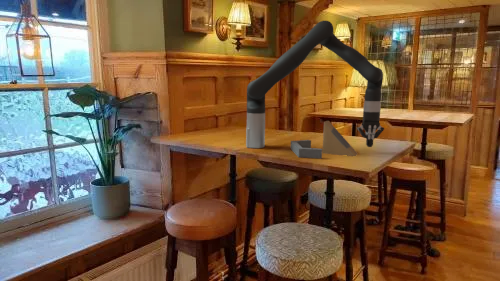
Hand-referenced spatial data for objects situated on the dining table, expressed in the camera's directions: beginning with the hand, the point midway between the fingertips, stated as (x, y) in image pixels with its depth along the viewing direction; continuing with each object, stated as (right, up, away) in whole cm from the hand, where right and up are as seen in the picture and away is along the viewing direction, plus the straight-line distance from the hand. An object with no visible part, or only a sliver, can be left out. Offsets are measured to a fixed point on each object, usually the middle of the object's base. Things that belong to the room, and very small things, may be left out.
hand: (369, 146), depth 172 cm
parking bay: (-31, -3, -2) cm, 31 cm away
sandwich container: (-14, -3, -2) cm, 15 cm away
